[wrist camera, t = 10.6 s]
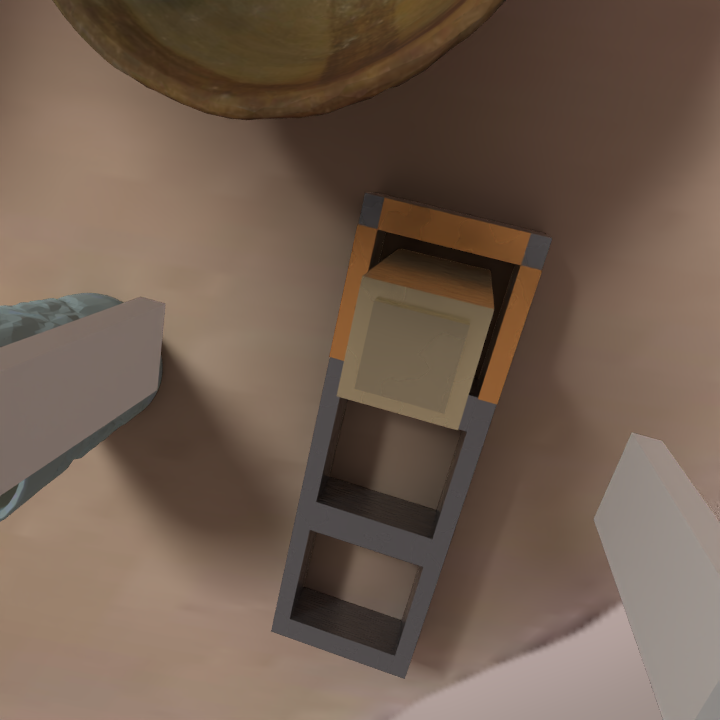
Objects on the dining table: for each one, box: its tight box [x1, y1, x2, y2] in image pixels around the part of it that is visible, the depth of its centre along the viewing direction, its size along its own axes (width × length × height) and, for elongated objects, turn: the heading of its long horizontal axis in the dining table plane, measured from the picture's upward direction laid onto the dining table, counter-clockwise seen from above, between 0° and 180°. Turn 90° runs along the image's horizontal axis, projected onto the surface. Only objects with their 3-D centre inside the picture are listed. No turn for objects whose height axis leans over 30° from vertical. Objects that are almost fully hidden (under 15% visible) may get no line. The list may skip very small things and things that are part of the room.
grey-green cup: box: [0, 293, 162, 521], centre depth 30 cm, size 10×10×12 cm
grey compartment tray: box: [271, 192, 552, 679], centre depth 32 cm, size 28×9×3 cm, turn 167°
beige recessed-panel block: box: [337, 248, 494, 430], centre depth 26 cm, size 5×5×10 cm
